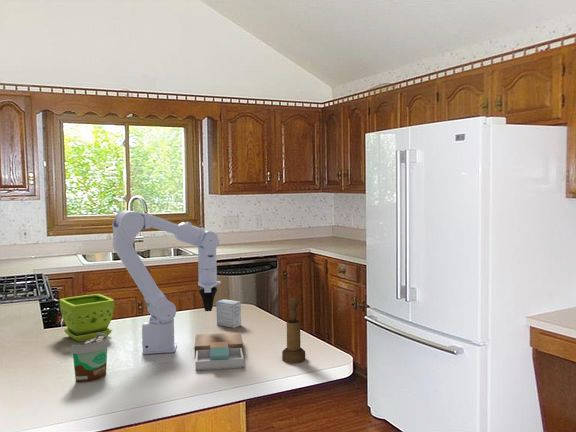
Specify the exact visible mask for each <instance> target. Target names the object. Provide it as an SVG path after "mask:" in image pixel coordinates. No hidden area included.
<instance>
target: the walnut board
mask: <svg viewBox="0 0 576 432" xmlns="http://www.w3.org/2000/svg"><path fill="white" fill-rule="evenodd" d="M194 338H195V339H194V359H196V350H210V343H211V342H228V347H229V348H242V352H243V353H244V342H243V337H242V332H239V331H238V332H222V333H219V332H218V333H202V334H201V333H200V334H195V337H194Z"/></svg>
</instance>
